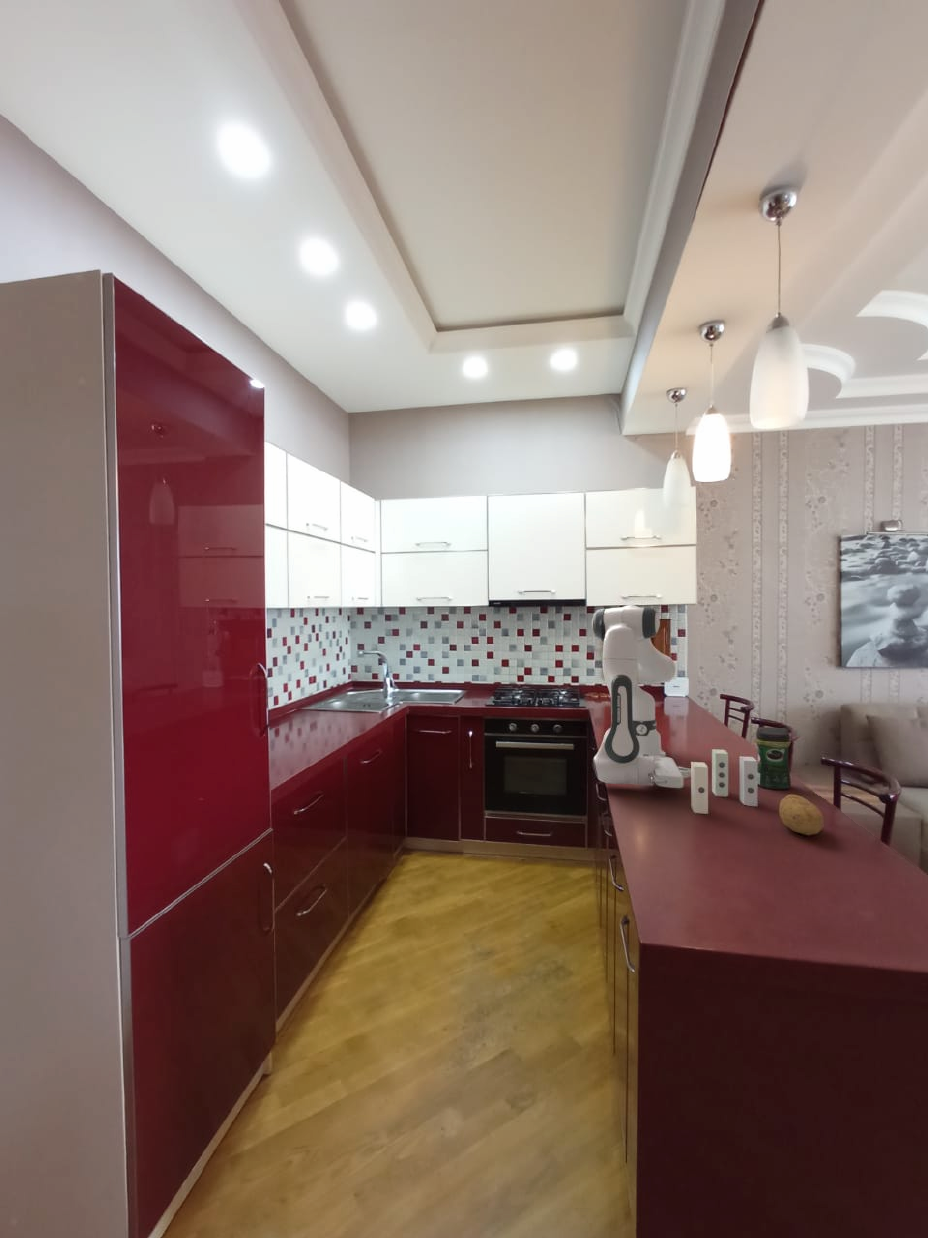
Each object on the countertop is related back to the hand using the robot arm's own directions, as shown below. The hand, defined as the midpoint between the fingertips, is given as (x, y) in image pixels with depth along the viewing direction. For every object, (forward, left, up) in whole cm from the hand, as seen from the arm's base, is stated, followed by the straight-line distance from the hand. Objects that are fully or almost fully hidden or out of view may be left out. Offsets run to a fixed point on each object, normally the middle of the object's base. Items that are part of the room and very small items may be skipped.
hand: (693, 773), depth 168 cm
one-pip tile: (+15, -2, -6) cm, 16 cm away
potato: (+26, +20, -6) cm, 34 cm away
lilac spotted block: (+7, +14, -6) cm, 16 cm away
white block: (0, +8, -6) cm, 10 cm away
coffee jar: (-10, +26, -6) cm, 28 cm away
